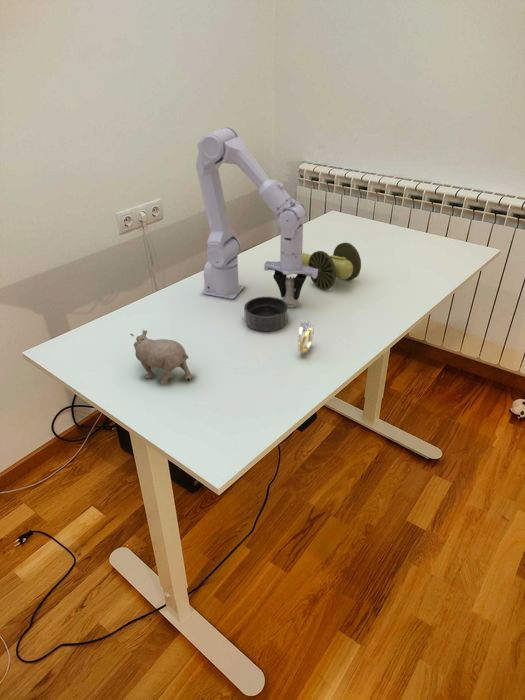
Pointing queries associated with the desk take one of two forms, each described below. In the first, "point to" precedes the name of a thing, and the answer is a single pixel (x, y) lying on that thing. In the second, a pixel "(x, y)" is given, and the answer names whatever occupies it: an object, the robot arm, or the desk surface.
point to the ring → (311, 333)
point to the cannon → (334, 265)
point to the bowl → (265, 313)
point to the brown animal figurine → (161, 356)
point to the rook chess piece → (290, 293)
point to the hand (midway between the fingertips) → (290, 296)
